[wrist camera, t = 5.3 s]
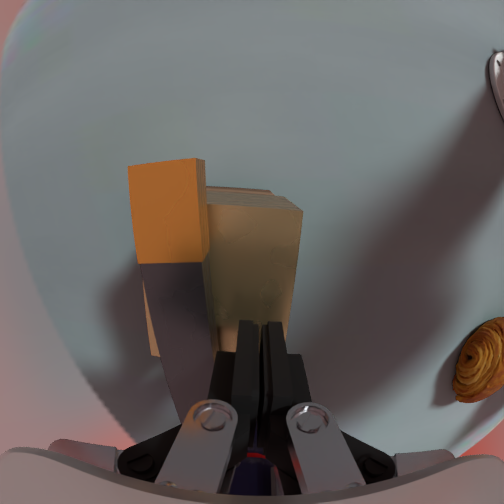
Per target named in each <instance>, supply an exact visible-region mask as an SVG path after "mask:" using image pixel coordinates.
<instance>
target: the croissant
mask: <svg viewBox="0 0 504 504" xmlns="http://www.w3.org/2000/svg"><path fill="white" fill-rule="evenodd" d="M503 385H504V317H497V318H494V319H493V320H490V321H488V322H486V323H484V324H483V325H482V326H481V327H479V328H478V330H477V331H476V332H475V333H474V334H473V335H472V336H471V337H470V338H469V339H468V340H467V342H466V343H465V345H464V346H463V348H462V351H461V354H460V356H459V361H458V363H457V364H456V374H455V376H454V379H453V390H455V393H456V394H457V395H458V396H456V400H458V401H459V402H463V403H474V402H478V401H480V400H483V399H485V398H487V397H489V396H490V395H492V394H493V393H495V392H496V391H498V390H499V389H500V388H501V387H502V386H503Z"/></svg>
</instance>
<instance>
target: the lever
mask: <svg viewBox="0 0 504 504" xmlns="http://www.w3.org/2000/svg"><path fill="white" fill-rule="evenodd" d="M128 180H129V193H130V205H131V214H132V223H133V232H134V239H135V247H136V253H137V260H138V264H140V266H141V272H142V277H143V283H144V288H145V294H146V299H147V304H148V308H149V313H150V318H151V322H152V326H153V331H154V335H155V339H156V343H157V347H158V351H159V354H160V358H161V362H162V365H163V369H164V372H165V376H166V379H167V382H168V386H169V389H170V392H171V395H172V398H173V401H174V404H175V407H176V410H177V413H178V416H179V419H180V421H181V424H183V422H184V420H185V418H186V416H187V414H188V412H189V410H190V409H191V407H192V406H193V405H195V404H196V403H198V402H200V401H203V400H207V398H208V393H209V388H210V382H211V377H212V372H213V367H214V362H215V357H216V353H217V351H219V346H218V338H217V330H216V321H215V312H214V302H213V293H212V283H211V272H210V261H209V249H210V240H209V227H208V212H207V196H206V177H205V160H201V159H198V158H191V159H181V160H171V161H163V162H155V163H147V164H140V165H134V166H128ZM240 463H241V462H240ZM240 463H238V464H237V465H236V468H237V467H238V466H239V465H240Z"/></svg>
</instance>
